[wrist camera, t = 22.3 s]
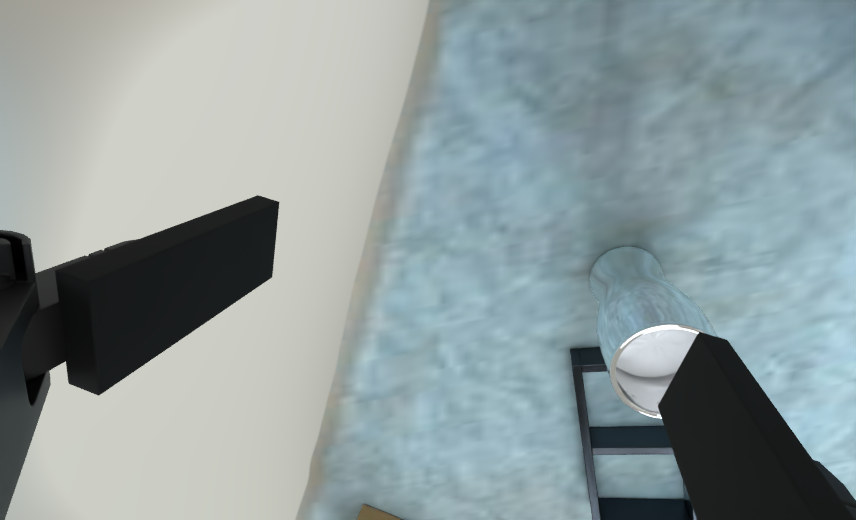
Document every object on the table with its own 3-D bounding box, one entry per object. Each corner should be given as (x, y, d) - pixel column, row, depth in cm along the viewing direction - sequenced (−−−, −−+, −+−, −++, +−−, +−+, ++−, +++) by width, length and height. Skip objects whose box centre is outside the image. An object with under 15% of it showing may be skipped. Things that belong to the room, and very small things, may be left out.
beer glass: (580, 246, 40) (601, 326, 27) (666, 235, 38) (736, 315, 25) (588, 316, 42) (611, 424, 29) (669, 309, 40) (737, 421, 27)
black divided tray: (685, 340, 41) (695, 358, 38) (693, 505, 47) (702, 531, 44) (569, 348, 44) (571, 365, 41) (590, 503, 50) (593, 526, 47)
